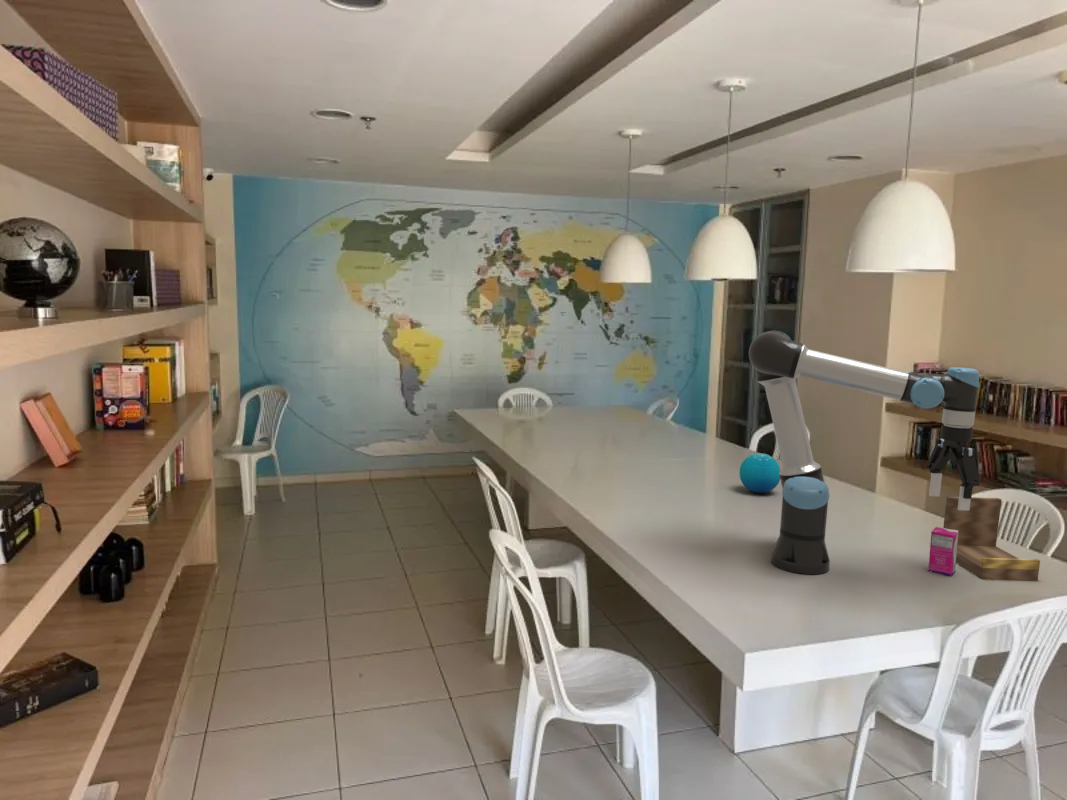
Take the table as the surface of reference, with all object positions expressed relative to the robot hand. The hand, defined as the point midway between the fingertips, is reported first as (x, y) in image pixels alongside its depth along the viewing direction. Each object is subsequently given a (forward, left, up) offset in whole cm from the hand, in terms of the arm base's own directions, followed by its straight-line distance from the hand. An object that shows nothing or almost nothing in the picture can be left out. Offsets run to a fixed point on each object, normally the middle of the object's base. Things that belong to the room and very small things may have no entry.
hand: (948, 502), depth 201 cm
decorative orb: (-27, +78, -19) cm, 84 cm away
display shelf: (+15, +4, -19) cm, 24 cm away
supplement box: (-1, -1, -19) cm, 19 cm away
